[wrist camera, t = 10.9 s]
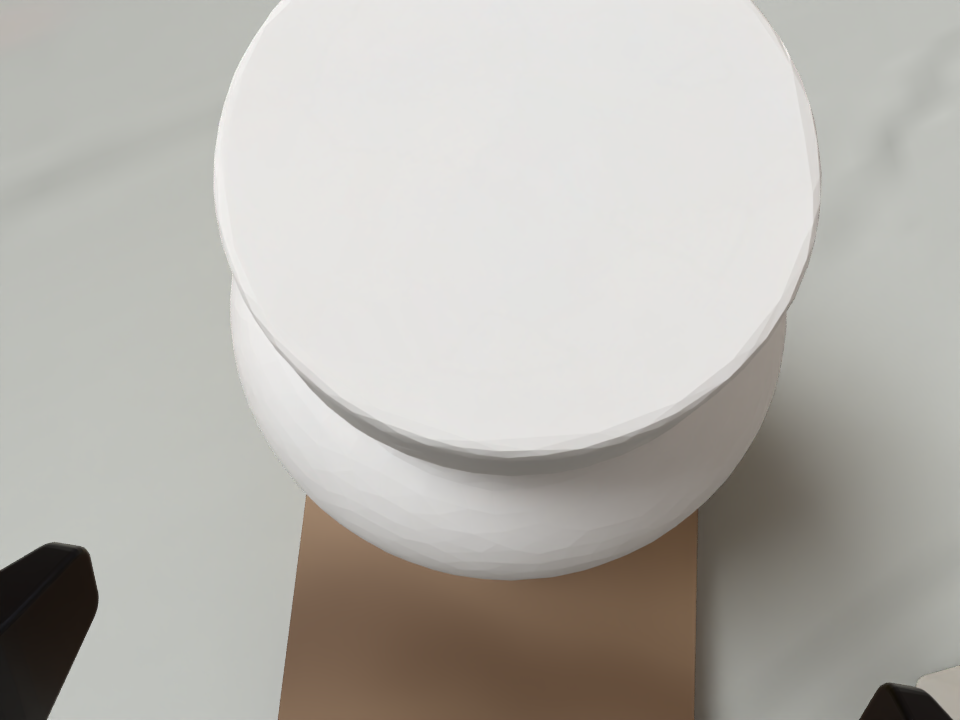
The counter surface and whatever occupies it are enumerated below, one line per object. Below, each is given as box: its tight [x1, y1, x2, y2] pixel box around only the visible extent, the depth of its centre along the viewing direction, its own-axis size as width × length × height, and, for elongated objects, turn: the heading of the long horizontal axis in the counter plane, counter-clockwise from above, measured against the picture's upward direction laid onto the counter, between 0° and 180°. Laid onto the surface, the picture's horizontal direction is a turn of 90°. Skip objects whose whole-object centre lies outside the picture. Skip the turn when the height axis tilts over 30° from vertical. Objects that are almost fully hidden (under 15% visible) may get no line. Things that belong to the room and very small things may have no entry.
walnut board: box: [278, 494, 698, 720], centre depth 19 cm, size 16×9×2 cm, turn 175°
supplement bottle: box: [214, 0, 821, 581], centre depth 12 cm, size 7×7×13 cm
